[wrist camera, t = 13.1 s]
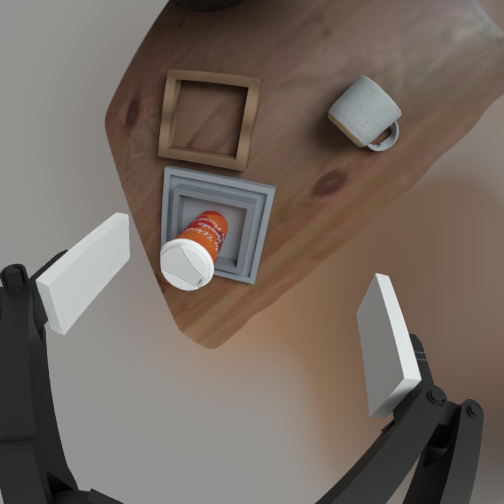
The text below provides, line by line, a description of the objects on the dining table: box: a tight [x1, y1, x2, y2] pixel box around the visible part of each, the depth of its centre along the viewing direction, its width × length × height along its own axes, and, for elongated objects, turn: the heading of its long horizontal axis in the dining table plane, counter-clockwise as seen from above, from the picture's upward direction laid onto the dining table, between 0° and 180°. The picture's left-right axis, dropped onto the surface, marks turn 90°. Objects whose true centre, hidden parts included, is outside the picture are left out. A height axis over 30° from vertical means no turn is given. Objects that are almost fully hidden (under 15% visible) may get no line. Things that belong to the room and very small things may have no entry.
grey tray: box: [161, 166, 276, 284], centre depth 50 cm, size 18×18×3 cm
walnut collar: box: [158, 69, 264, 172], centre depth 41 cm, size 14×14×2 cm
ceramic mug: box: [327, 75, 401, 151], centre depth 35 cm, size 11×8×8 cm
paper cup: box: [160, 211, 228, 290], centre depth 45 cm, size 8×8×14 cm
